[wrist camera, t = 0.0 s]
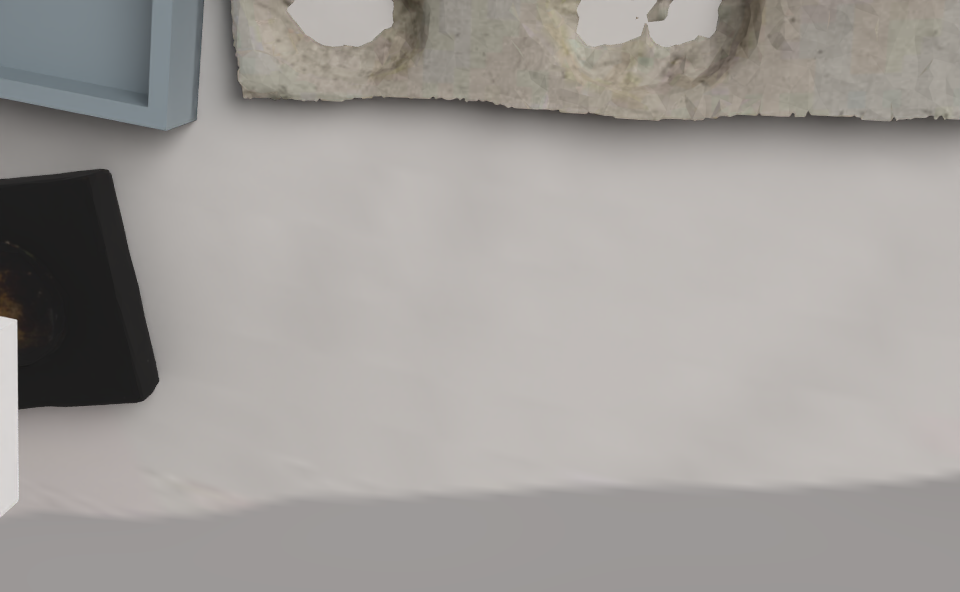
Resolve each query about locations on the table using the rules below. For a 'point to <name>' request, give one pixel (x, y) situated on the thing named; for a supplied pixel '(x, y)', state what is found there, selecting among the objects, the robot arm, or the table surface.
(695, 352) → the table surface
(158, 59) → the tray
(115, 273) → the sculpture
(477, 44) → the stone relief
